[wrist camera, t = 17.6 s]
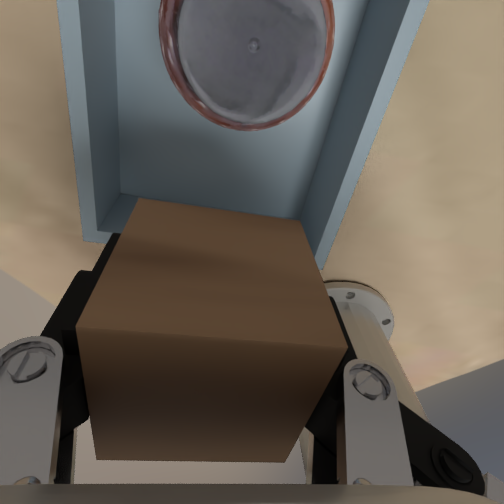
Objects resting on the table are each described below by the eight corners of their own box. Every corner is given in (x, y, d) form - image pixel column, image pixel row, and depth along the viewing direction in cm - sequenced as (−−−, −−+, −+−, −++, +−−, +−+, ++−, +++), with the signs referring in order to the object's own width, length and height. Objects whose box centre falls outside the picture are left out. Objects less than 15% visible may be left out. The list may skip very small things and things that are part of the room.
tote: (304, 225, 26) (322, 269, 21) (112, 197, 24) (83, 240, 19) (404, -79, 16) (477, -122, 11) (94, -177, 14) (25, -283, 9)
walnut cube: (266, 326, 13) (284, 462, 9) (139, 315, 12) (96, 459, 8) (300, 221, 10) (347, 347, 6) (138, 197, 10) (75, 325, 6)
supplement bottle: (185, -49, 16) (124, -158, 6) (305, -28, 16) (406, -98, 7) (184, 87, 19) (143, 145, 10) (284, 100, 20) (333, 165, 10)
